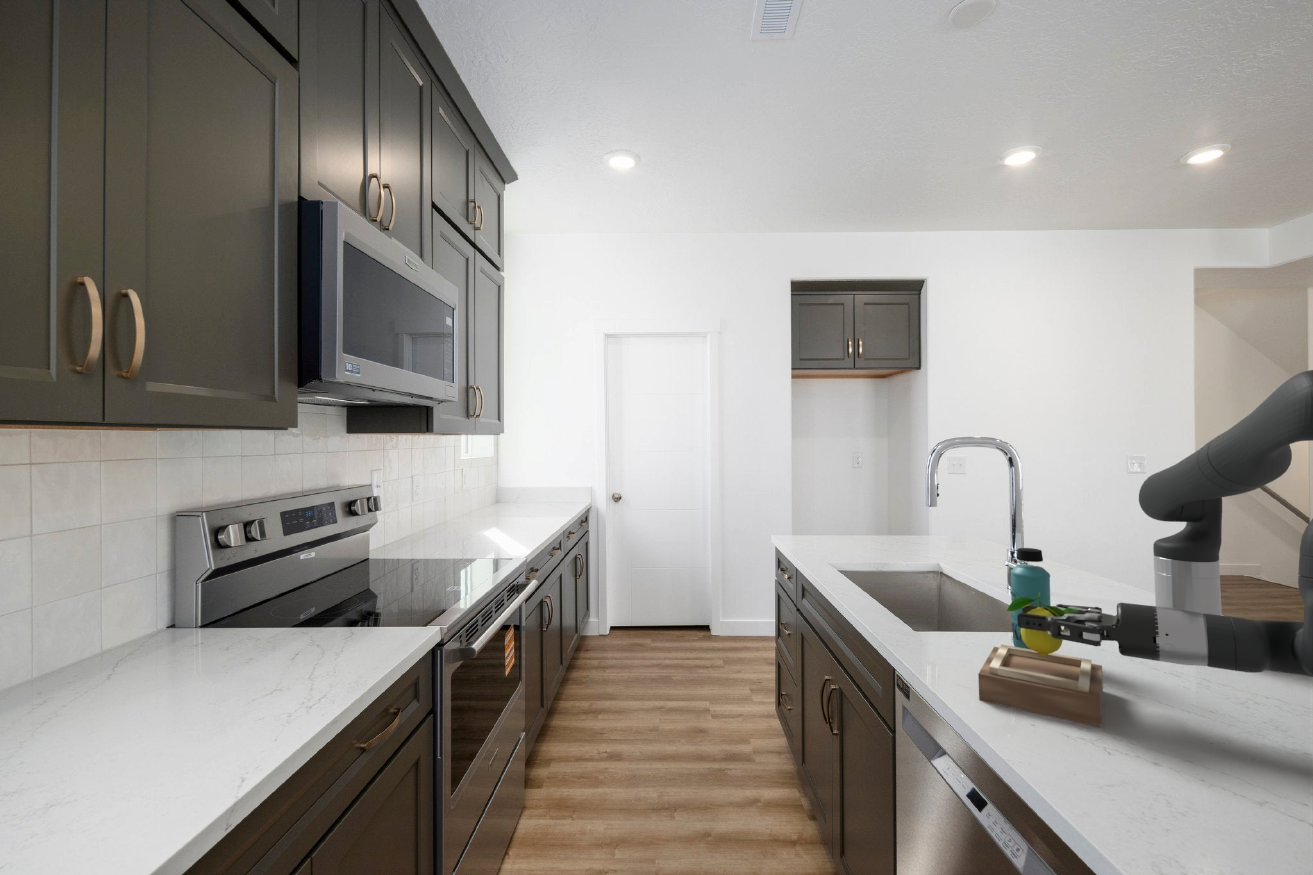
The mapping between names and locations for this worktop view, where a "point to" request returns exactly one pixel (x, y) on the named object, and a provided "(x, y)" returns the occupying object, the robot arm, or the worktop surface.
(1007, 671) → the stand
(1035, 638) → the lemon
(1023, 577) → the beverage bottle
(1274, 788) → the worktop surface
